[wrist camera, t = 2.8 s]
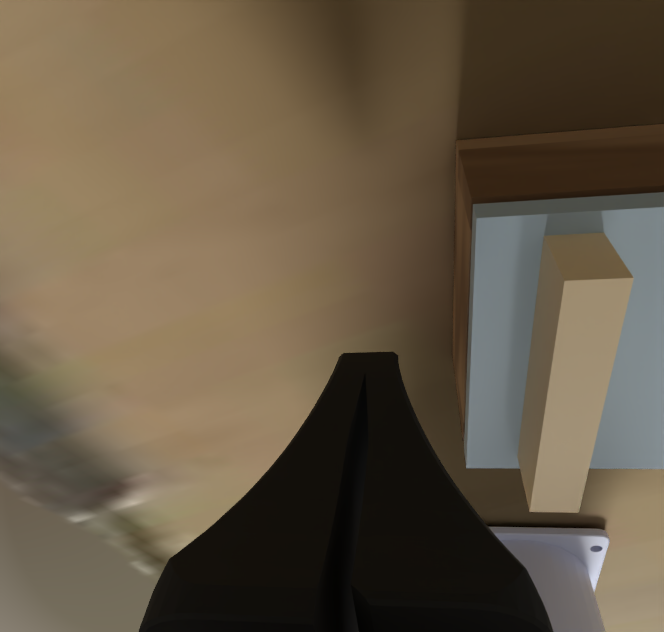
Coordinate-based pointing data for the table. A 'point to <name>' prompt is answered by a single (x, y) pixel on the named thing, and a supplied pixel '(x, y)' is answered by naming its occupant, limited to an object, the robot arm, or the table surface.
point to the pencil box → (542, 190)
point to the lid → (566, 341)
